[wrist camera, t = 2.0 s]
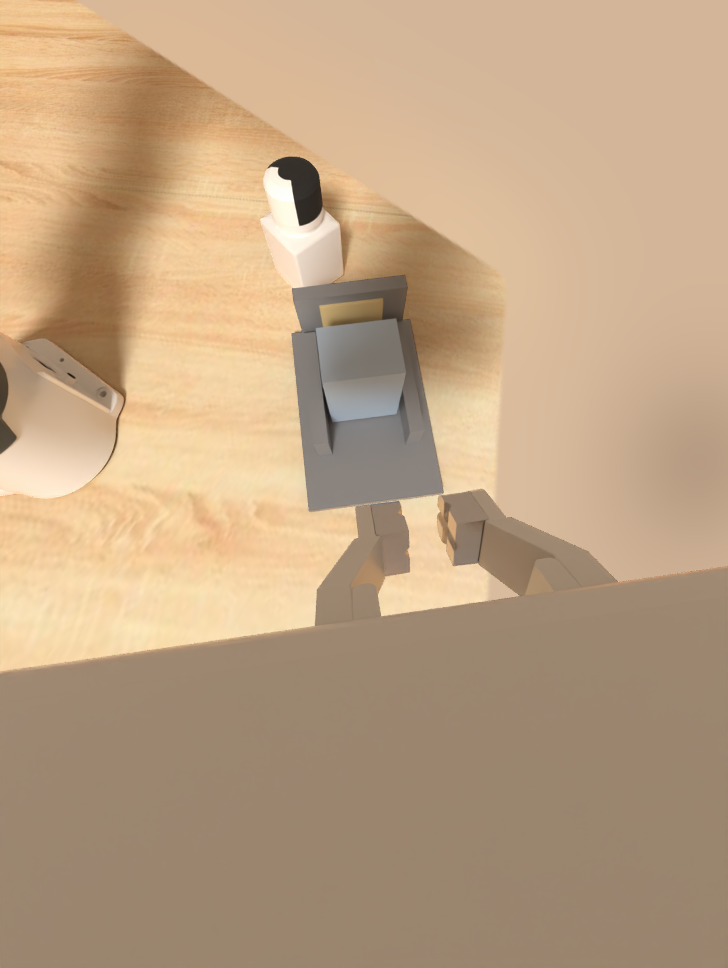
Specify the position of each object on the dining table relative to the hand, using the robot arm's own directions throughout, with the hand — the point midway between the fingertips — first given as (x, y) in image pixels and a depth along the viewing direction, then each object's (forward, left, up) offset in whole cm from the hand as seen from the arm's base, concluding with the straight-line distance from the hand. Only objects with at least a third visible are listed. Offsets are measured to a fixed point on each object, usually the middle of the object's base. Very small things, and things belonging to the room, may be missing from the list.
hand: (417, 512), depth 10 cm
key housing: (-13, +9, -25) cm, 30 cm away
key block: (-14, +10, -24) cm, 30 cm away
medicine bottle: (-34, +18, -26) cm, 46 cm away
